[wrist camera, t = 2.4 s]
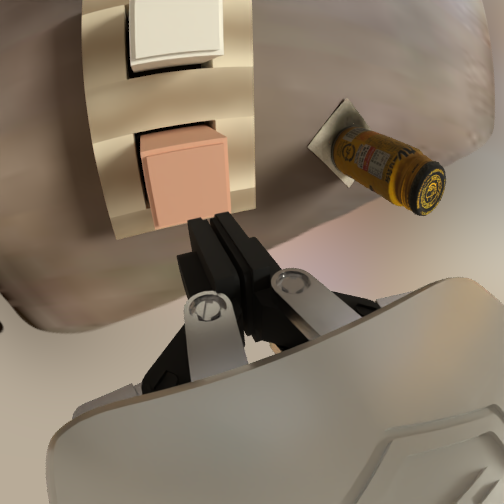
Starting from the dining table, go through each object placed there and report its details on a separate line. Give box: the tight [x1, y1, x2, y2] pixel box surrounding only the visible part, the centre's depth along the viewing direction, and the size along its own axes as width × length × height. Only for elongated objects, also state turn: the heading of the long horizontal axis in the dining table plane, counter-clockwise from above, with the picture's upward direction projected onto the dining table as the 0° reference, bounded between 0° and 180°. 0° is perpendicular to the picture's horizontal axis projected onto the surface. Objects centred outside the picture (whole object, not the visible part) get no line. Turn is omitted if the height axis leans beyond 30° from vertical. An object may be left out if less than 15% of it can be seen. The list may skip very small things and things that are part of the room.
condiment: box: [308, 98, 446, 216], centre depth 24 cm, size 7×8×12 cm
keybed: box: [82, 0, 256, 240], centre depth 18 cm, size 20×12×4 cm, turn 2°
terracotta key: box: [140, 124, 231, 230], centre depth 18 cm, size 5×5×6 cm
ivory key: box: [129, 0, 224, 73], centre depth 12 cm, size 5×5×6 cm
